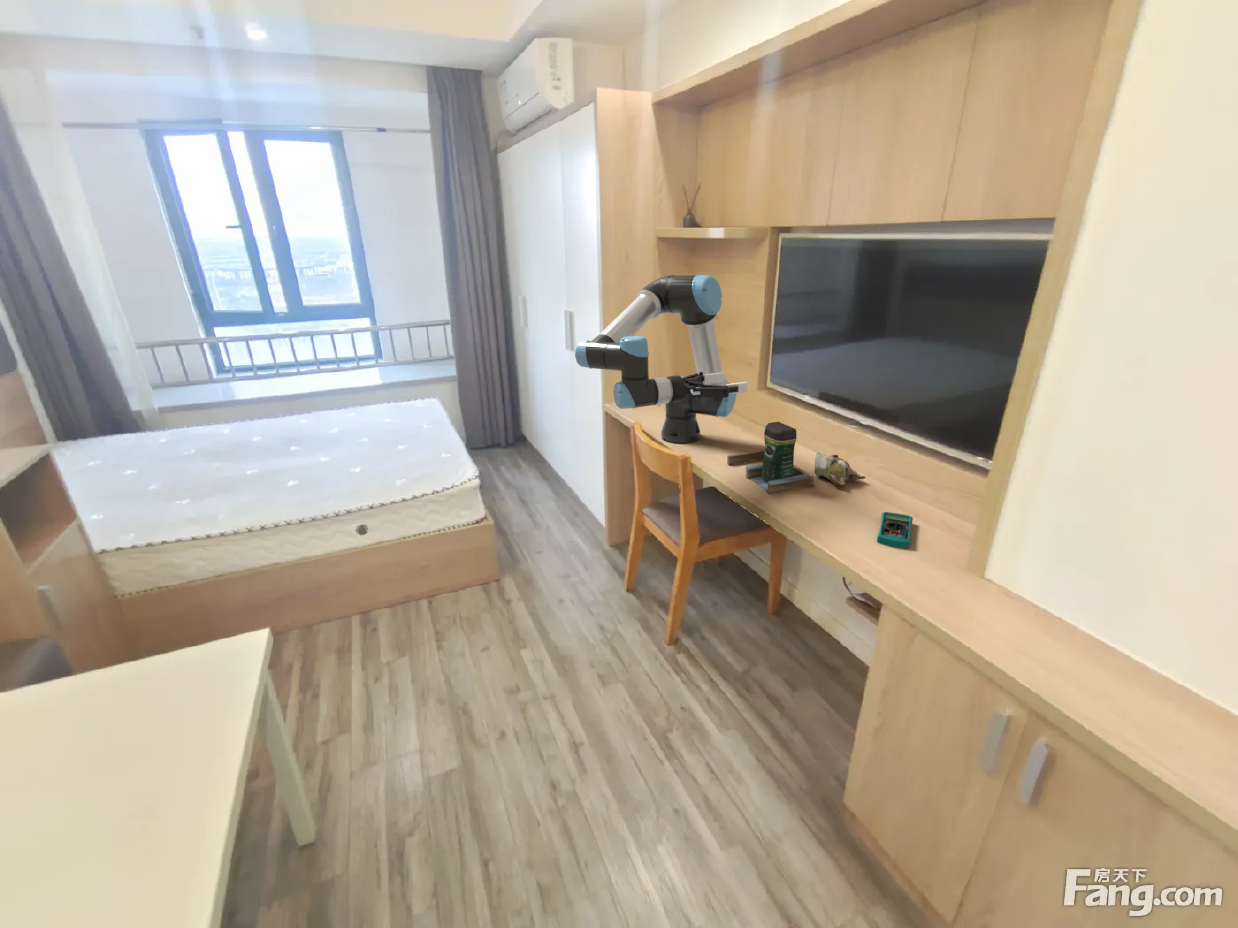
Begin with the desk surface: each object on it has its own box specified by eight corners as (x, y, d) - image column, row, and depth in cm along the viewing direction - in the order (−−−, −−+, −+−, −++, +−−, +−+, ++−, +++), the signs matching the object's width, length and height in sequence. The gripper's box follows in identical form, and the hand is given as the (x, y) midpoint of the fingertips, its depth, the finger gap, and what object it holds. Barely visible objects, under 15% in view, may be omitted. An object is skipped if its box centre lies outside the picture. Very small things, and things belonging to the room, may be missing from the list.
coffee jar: (797, 484, 170) (802, 427, 163) (775, 489, 168) (779, 431, 161) (778, 473, 179) (782, 418, 172) (757, 477, 176) (760, 421, 169)
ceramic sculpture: (828, 443, 178) (870, 459, 166) (825, 468, 181) (865, 485, 170) (806, 451, 173) (847, 468, 161) (802, 476, 176) (843, 495, 165)
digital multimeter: (876, 545, 137) (877, 534, 136) (881, 519, 149) (882, 509, 148) (909, 551, 134) (911, 541, 133) (911, 524, 146) (913, 514, 145)
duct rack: (727, 464, 188) (727, 453, 187) (766, 457, 193) (767, 447, 191) (770, 494, 165) (770, 483, 164) (813, 486, 169) (814, 474, 168)
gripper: (652, 392, 170) (714, 384, 176) (686, 414, 148) (756, 404, 154) (651, 368, 167) (715, 361, 173) (686, 386, 145) (757, 378, 151)
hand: (734, 381), depth 163 cm, fingers open, 13 cm apart
